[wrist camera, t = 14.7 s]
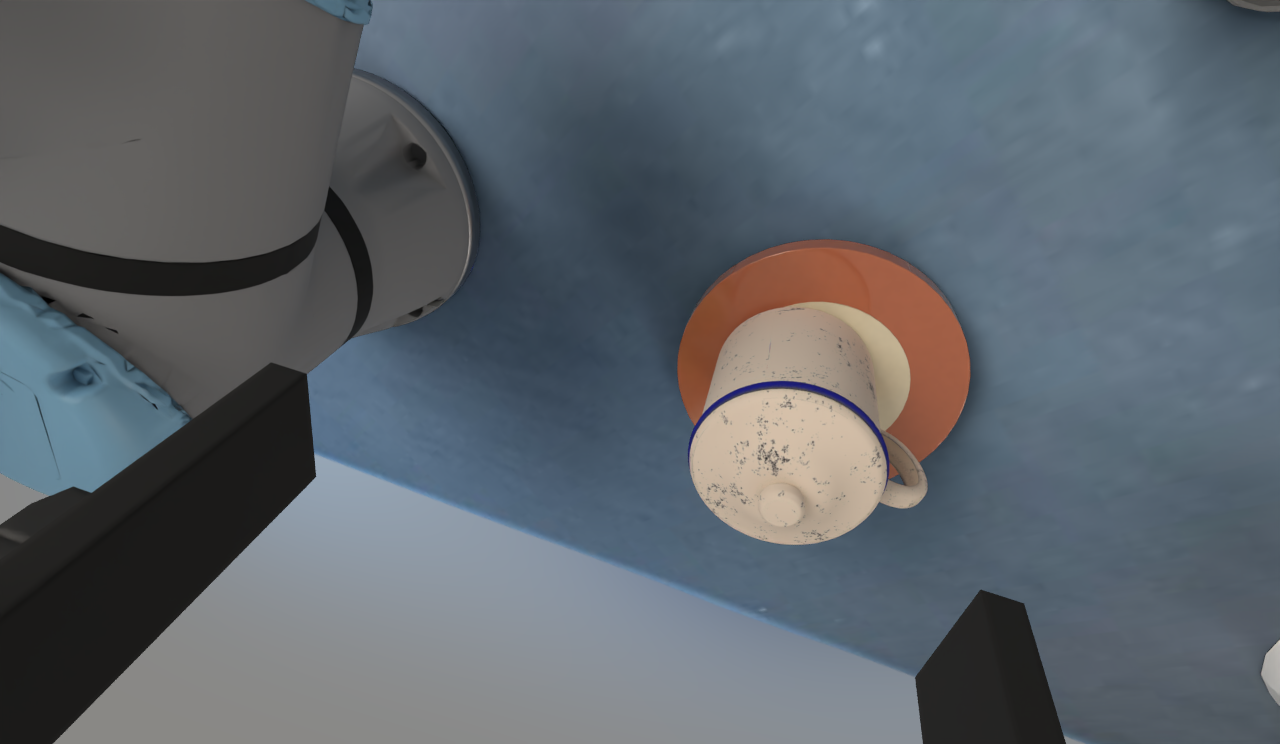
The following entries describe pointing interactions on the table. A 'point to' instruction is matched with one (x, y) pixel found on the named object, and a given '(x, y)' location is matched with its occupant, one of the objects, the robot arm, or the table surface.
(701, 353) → the saucer
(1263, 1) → the pocket watch
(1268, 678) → the figurine
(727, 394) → the teacup with lid
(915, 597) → the table surface
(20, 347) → the robot arm
